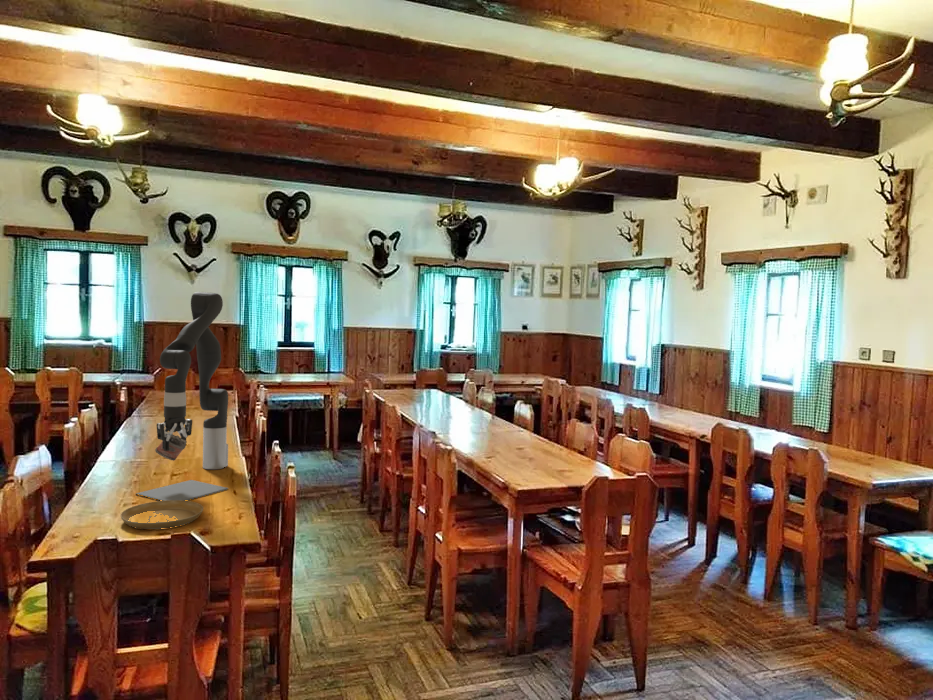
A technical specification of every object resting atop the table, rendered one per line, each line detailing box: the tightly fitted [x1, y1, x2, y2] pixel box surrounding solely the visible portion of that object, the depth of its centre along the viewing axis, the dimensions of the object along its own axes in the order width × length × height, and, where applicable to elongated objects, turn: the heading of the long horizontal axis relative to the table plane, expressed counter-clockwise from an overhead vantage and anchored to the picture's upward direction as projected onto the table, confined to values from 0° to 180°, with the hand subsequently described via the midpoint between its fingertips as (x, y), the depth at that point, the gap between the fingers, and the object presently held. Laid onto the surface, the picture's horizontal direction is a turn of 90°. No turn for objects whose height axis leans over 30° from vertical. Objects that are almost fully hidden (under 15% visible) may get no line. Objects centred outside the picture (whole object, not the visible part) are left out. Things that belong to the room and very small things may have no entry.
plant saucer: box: [120, 500, 204, 530], centre depth 219 cm, size 24×24×3 cm
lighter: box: [154, 434, 188, 462], centre depth 253 cm, size 8×3×10 cm
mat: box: [135, 479, 229, 501], centre depth 251 cm, size 24×20×1 cm
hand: (174, 449), depth 253 cm, fingers closed on lighter, 6 cm apart
